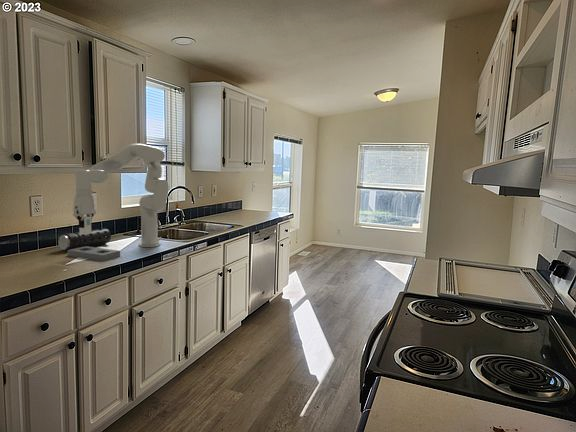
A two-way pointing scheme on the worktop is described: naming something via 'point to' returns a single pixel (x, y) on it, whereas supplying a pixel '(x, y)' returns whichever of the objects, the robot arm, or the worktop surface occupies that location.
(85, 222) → the plug
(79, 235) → the black flashlight
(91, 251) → the socket block
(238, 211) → the worktop surface
